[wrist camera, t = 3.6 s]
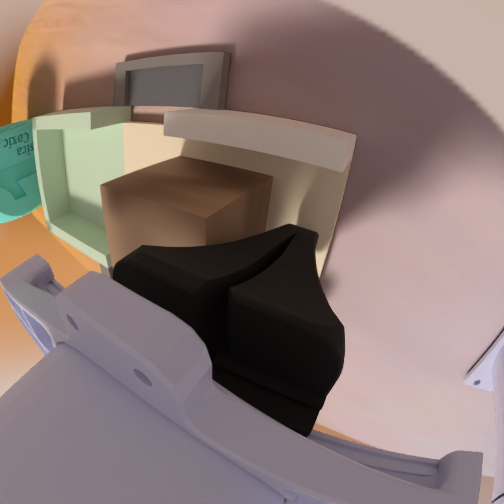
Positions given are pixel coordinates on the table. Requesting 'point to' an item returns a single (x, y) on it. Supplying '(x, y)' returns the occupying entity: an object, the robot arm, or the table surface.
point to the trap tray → (184, 150)
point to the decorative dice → (18, 171)
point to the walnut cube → (183, 205)
